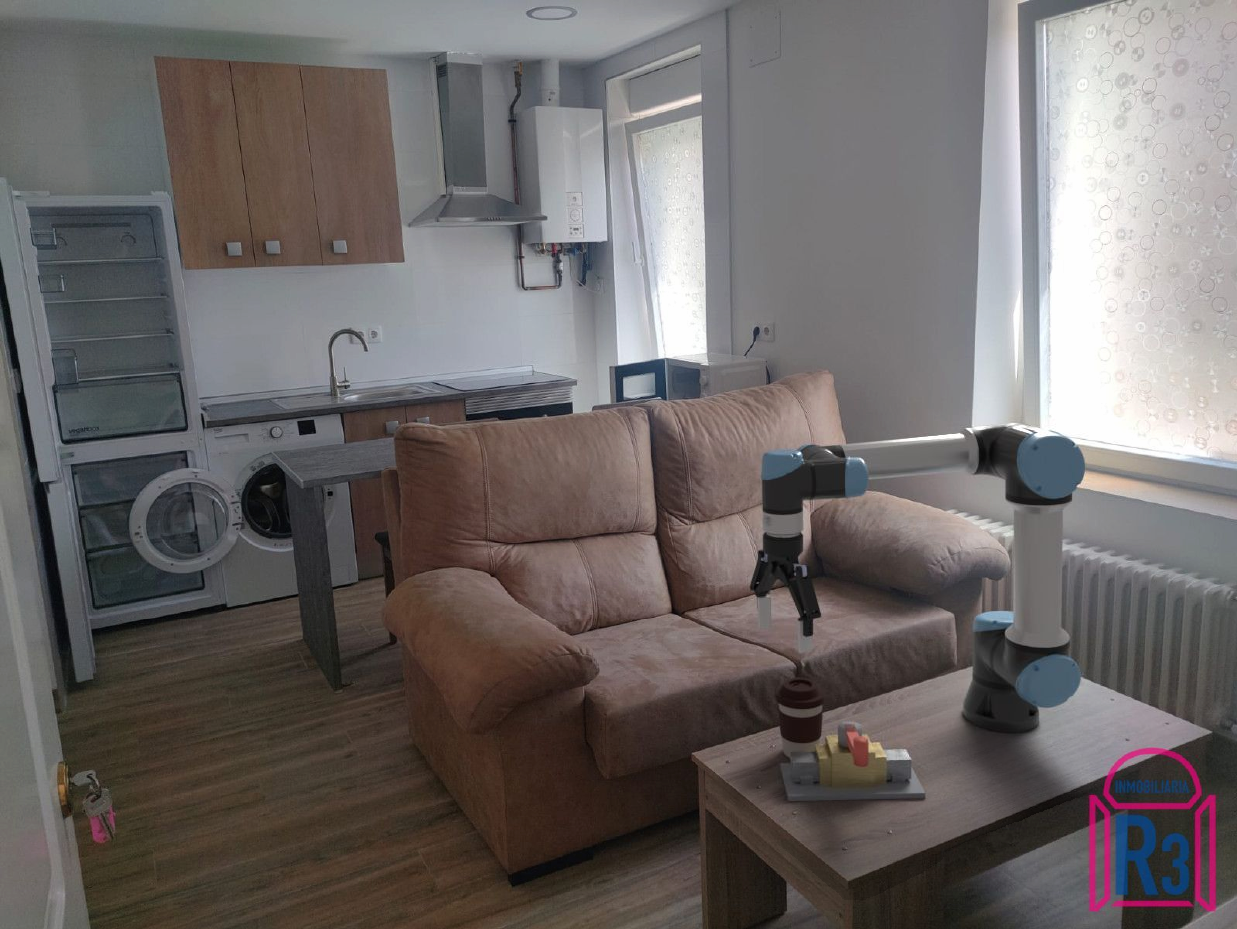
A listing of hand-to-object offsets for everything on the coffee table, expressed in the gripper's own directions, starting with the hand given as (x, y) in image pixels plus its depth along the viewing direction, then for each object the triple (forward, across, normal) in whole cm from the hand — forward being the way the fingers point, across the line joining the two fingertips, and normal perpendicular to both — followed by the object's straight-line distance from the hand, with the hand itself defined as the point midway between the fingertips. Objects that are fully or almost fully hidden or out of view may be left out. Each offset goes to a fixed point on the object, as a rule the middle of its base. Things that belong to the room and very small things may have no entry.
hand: (784, 639), depth 177 cm
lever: (+19, +14, +6) cm, 24 cm away
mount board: (+27, +10, +8) cm, 30 cm away
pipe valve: (+27, +10, +8) cm, 30 cm away
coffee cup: (+27, -4, +6) cm, 28 cm away
